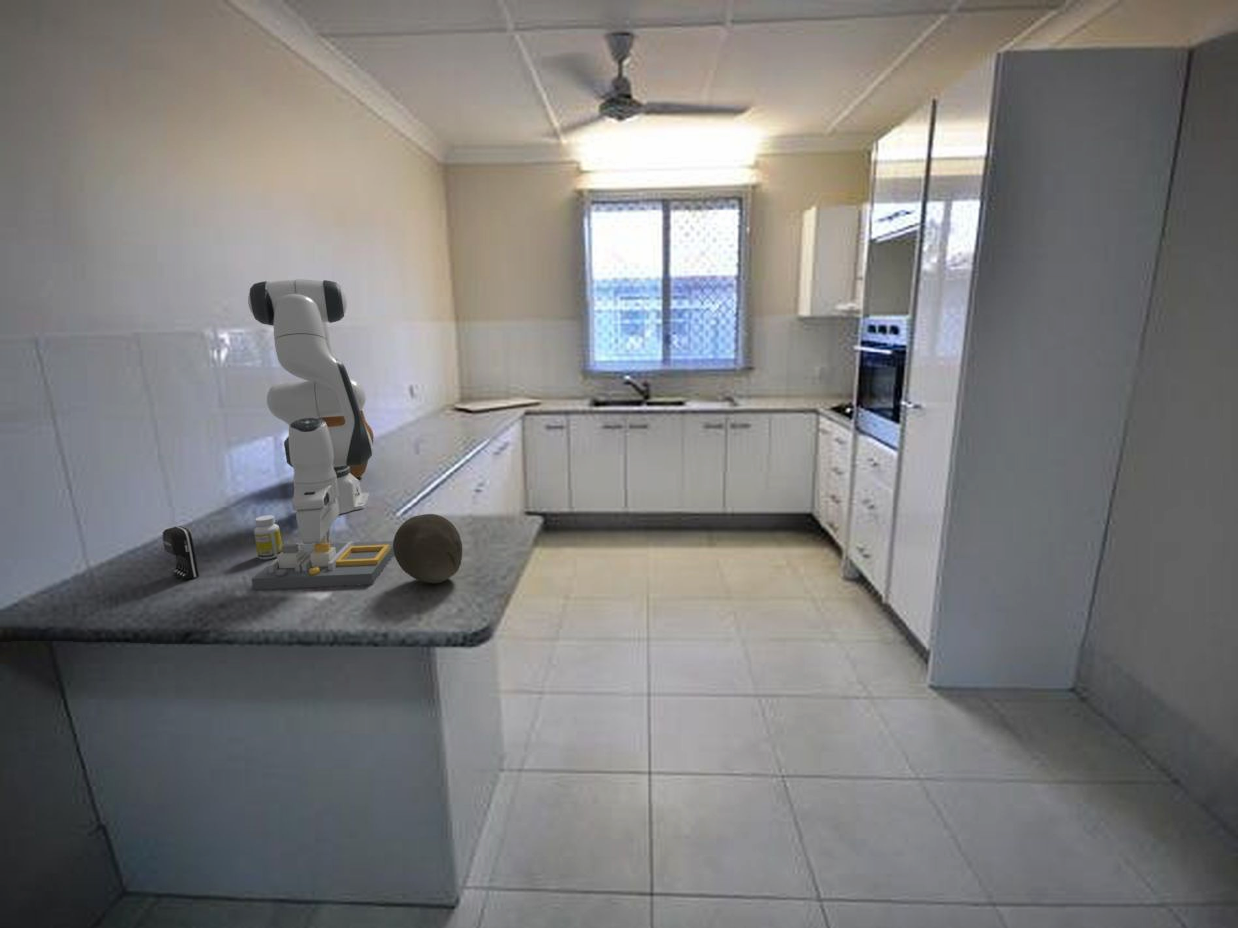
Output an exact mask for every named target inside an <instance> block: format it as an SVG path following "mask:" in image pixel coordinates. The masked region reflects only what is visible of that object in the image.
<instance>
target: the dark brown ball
mask: <svg viewBox="0 0 1238 928" xmlns="http://www.w3.org/2000/svg"><path fill="white" fill-rule="evenodd" d="M392 541H393V550H394V557H395V560H396V562H397V564H398V565H399V567H400V568H401V570H402V571H403V572H405V573H406V574H407V575H409V576H410V577H412V578H413V579H415V580H417V581H419V582H422V583H427V584H440V583H444V582H445V581H447V580H449V579H450V578H451V577H453V576H454V575H455V574H456V573H457V572H458V571H459V569H460V568H461V565H462V564H461V563H462V559H463V541H462V537H461V535H460V533H459V531H458V530H457V528H456V526H455V525H454V524H453V523H452V522H451V521H450V520H448V519H447V518H445V517H444V516H442V515H438V514H435V513H425V514H420V515H414V516H412V517H410V518H408V519H406V520H405V521H404V522H403V523H402V524H401V525H400V526H399V527H398V529H397V531H396V533H395V536H394V538H393V540H392Z"/></svg>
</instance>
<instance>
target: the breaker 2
mask: <svg viewBox="0 0 1238 928" xmlns="http://www.w3.org/2000/svg"><path fill="white" fill-rule="evenodd" d="M314 544H315V545H314V549H315V550H314V551H313V552H312V553H311V554H310V558H311V565H312V567H324V566H328V564H327V563H328V562H329V561H330V560H331V559H332V558H333V557H334V556H335V555H336V548H335V547H330V544H331V542H330V543H314Z"/></svg>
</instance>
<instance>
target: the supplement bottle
mask: <svg viewBox="0 0 1238 928" xmlns="http://www.w3.org/2000/svg"><path fill="white" fill-rule="evenodd" d="M275 521H276V520H275V516H274V515H271V514H270V515H268V514H267V515H262V516H258V517H256V518H255V525H256V526H255V528H254V530H253V534H254V535H253V536H254V541H255V545H256V551H257V556H258V558H259V559H261V560H271V559H272V560H273V559H276V558H278V557H277V556H278V555H279V554H280V553H281V552H282V547H281V546H283V542H282V537H281V531H280V529H281V528H280V526H279V525H278V524H276V523H275Z"/></svg>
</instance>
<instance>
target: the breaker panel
mask: <svg viewBox="0 0 1238 928" xmlns="http://www.w3.org/2000/svg"><path fill="white" fill-rule="evenodd" d="M393 541H394V540H388V541H387V540H385V541H382V540H381V541H363V542H362V541H361V542H359V541H358V542H354V541H353V540H350V541H348V542H339V543H338V542H336V543H335V542H334V543H333V542H332V543H330V547H335V548H336V555H335V556H334V557H333V558H332V559H331V560H330V561H329V562H328V563H327V564H328V566H324V567H312V565H311V558H310V554H311V553H312V552H313V551H314V550H315V549H314V545H315V544H316V543H314V544H300V543H297V544H298V549H300V548H304V554H305V556H304V557H303V558H301V559H300V560H299V561H298V562H297V563H296V564H295V568H279V564H278V557H276V558H274V560H273V561H271V563H269V564H268V565H267V566H265V567H264V568H263V569H262V570H261V571H259V572H258V573H257V574H255V576H253V577H252V578H251V582H252V583H251V584H252V588H253V590H254V591H255V590H275V589H278V590H279V589H296V588H297V589H298V588H319V587H322V588H323V587H324V588H325V587H339V586H340V587H342V586H344V585H346V586H361V585H360V584H368V585H374V583H375V582H376V581H377V579H378V578H379V577H380V576H381V574H382V573H383V571H384V570H385V569H386V568H387V566H388V565H389V563H390V562H391V561H392V559H393V558H394V557H395V555H394V550H393ZM393 556H394V557H393ZM392 557H393V558H392ZM391 558H392V559H391ZM390 560H391V561H390ZM389 561H390V562H389ZM388 562H389V563H388ZM387 564H388V565H387ZM386 565H387V566H386ZM384 568H385V569H384ZM383 569H384V570H383ZM381 572H382V573H381ZM380 573H381V574H380ZM378 576H379V577H378ZM376 578H377V579H376ZM375 580H376V581H375ZM358 584H359V585H358ZM344 587H345V586H344Z"/></svg>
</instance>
